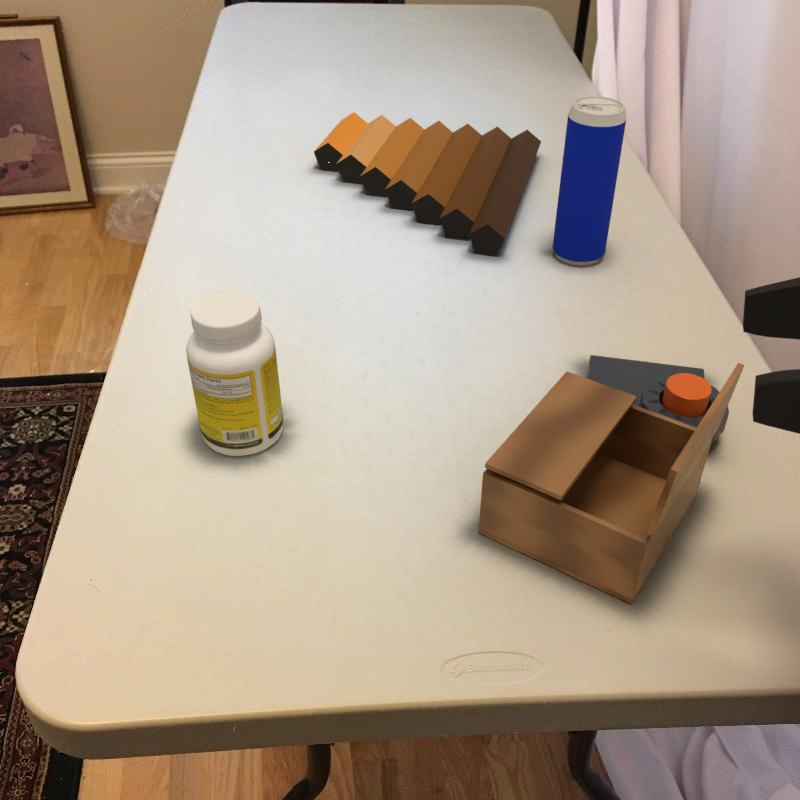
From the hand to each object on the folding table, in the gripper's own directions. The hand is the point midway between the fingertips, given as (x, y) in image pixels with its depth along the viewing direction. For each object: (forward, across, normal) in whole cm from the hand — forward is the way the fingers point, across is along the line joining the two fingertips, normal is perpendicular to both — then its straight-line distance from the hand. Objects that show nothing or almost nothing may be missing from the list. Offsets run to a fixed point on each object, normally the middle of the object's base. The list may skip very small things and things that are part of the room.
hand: (748, 352), depth 42 cm
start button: (+2, -19, +17) cm, 25 cm away
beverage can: (+12, -45, +17) cm, 49 cm away
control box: (+5, -22, +19) cm, 29 cm away
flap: (+2, -7, +11) cm, 13 cm away
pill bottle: (+34, -11, +14) cm, 39 cm away
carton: (+8, -9, +18) cm, 22 cm away
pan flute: (+31, -55, +14) cm, 65 cm away
